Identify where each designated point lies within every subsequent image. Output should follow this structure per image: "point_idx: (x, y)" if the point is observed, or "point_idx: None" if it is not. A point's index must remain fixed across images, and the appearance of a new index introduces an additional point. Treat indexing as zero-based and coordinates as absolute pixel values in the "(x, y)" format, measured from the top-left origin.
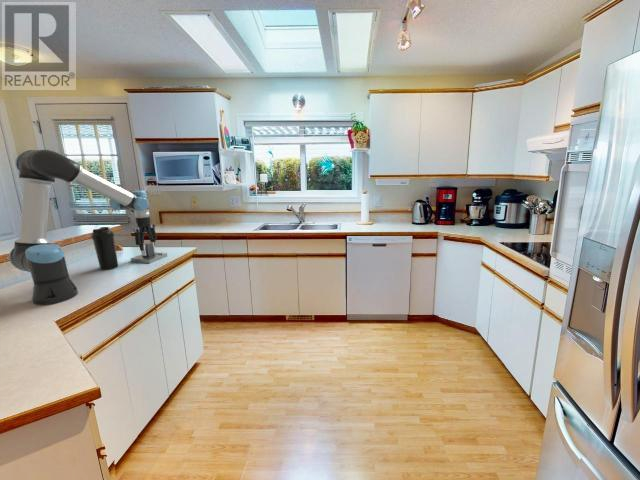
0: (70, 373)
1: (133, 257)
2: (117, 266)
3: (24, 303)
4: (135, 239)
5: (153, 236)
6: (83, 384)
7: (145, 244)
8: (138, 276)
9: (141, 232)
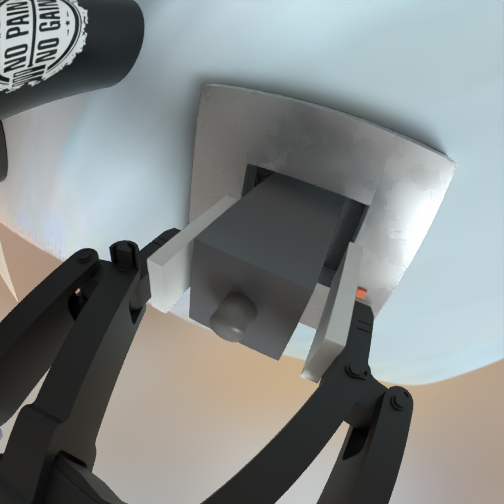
0: (11, 286)
1: (231, 93)
2: (115, 83)
3: None
4: (29, 295)
5: (386, 448)
6: (16, 298)
7: (269, 278)
8: None
9: (58, 451)
